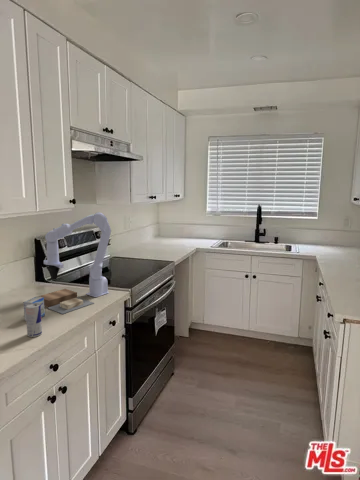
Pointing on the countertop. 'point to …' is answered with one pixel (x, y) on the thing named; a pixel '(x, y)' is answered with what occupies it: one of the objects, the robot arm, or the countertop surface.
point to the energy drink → (33, 320)
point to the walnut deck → (58, 297)
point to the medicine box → (35, 300)
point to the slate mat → (63, 310)
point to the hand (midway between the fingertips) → (54, 279)
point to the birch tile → (71, 303)
